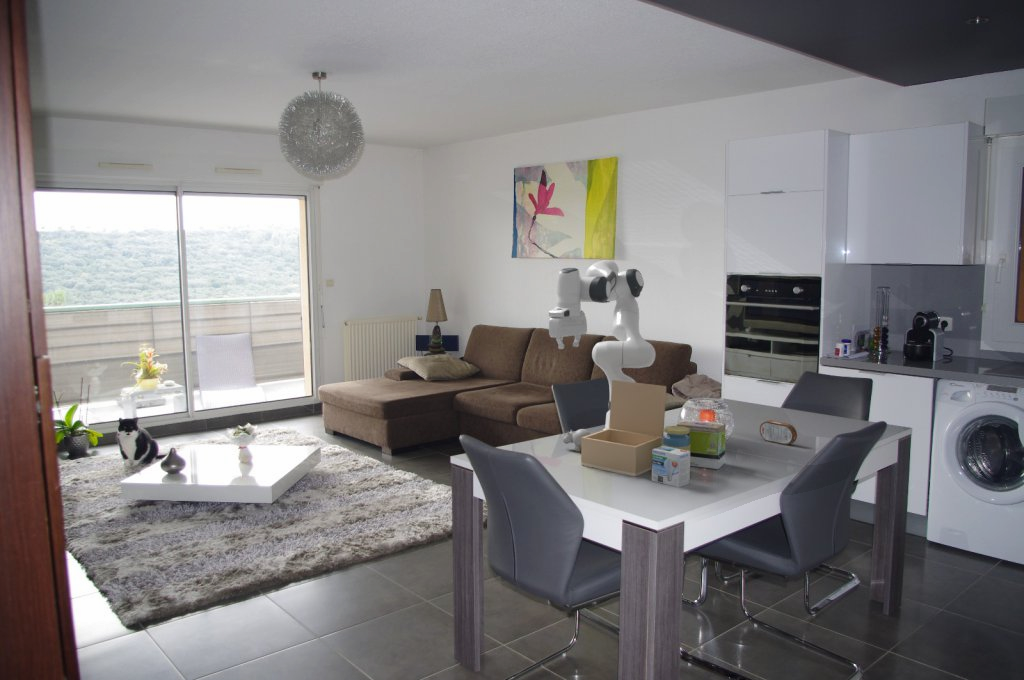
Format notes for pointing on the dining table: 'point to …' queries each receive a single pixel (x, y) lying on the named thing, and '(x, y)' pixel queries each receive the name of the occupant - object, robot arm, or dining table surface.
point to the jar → (677, 437)
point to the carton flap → (637, 408)
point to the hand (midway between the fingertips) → (568, 347)
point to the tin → (778, 432)
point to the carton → (619, 451)
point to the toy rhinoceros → (575, 438)
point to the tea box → (706, 443)
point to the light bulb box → (671, 466)
